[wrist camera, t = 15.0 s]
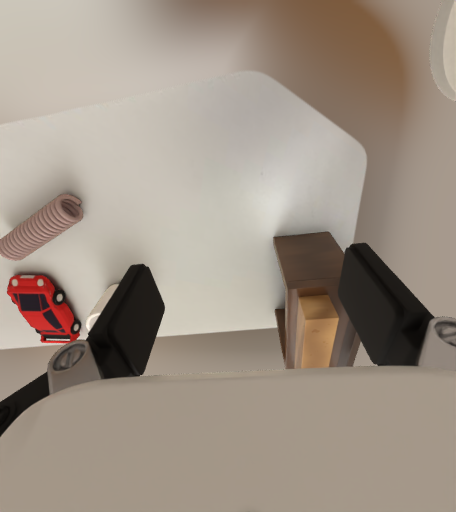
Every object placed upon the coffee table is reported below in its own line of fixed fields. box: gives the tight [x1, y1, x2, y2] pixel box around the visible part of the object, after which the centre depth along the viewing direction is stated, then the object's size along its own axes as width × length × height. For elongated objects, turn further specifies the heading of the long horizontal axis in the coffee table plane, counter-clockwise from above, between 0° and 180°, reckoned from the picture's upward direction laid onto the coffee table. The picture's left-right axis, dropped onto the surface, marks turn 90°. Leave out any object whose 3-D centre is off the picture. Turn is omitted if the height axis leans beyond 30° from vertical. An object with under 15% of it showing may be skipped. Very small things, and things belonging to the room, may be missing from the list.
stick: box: [294, 295, 339, 369], centre depth 35 cm, size 4×18×4 cm, turn 8°
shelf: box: [273, 232, 361, 369], centre depth 41 cm, size 10×21×16 cm, turn 8°
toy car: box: [7, 275, 81, 343], centre depth 52 cm, size 10×20×5 cm, turn 3°
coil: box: [0, 194, 83, 261], centre depth 40 cm, size 5×5×18 cm
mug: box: [86, 284, 119, 331], centre depth 49 cm, size 12×10×9 cm
